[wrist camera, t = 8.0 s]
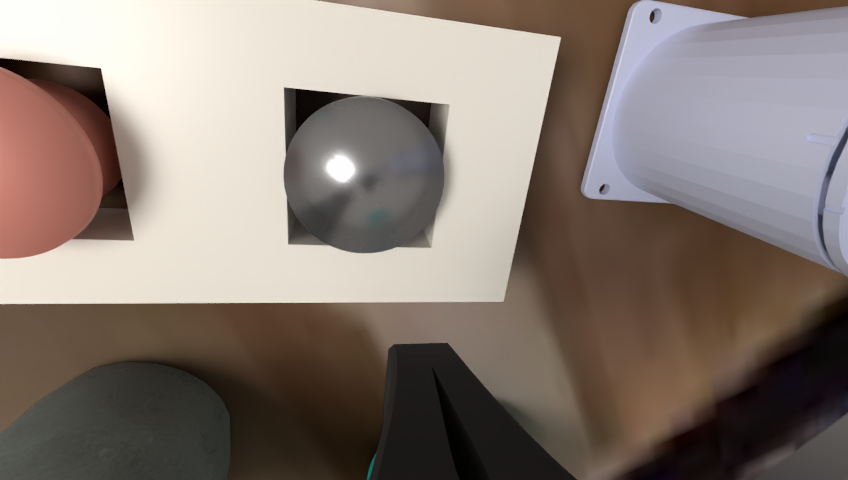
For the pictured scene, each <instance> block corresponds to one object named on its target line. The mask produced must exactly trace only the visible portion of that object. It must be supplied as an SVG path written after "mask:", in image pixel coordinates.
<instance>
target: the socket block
mask: <svg viewBox="0 0 848 480" xmlns="http://www.w3.org/2000/svg"><path fill="white" fill-rule="evenodd" d="M560 39H561V37H556V36H549V35H542V34H536V33H529V32H522V31H516V30H509V29H502V28H496V27H489V26H482V25H476V24H469V23H462V22H456V21H449V20H442V19H436V18H429V17H422V16H416V15H409V14H403V13H396V12H389V11H383V10H376V9H369V8H363V7H356V6H349V5H343V4H336V3H329V2H323V1H316V0H0V58H7V59H17V60H26V61H36V62H45V63H55V64H65V65H74V66H84V67H94V68H101V71H102V76H103V81H104V86H105V92H106V97H107V102H108V107H109V112H110V117H111V123H112V128H113V133H114V138H115V143H116V148H117V154H118V159H119V164H120V169H121V174H122V179H123V185H124V190H125V195H126V200H127V205H128V209H122V208H98V211H97V213H96V215H95V216H94V218H93V220H92V221H91V222H90V224H89V225H88V226H87V227H86V228H85V229H84V230H83V231H82V232H80V233H79V234H78V235H77V236H75V237H74V238H72V239H70V240H69V241H67V242H66V243H64V244H62V245H61V246H59V247H57V248H55V249H53V250H50V251H48V252H46V253H43V254H39V255H35V256H31V257H24V258H12V259H0V304H93V303H321V302H503V301H504V297H505V292H506V288H507V283H508V278H509V274H510V269H511V265H512V260H513V255H514V251H515V246H516V242H517V237H518V232H519V228H520V223H521V219H522V214H523V209H524V205H525V200H526V196H527V191H528V187H529V182H530V177H531V173H532V168H533V164H534V159H535V154H536V150H537V145H538V141H539V136H540V131H541V127H542V122H543V118H544V113H545V108H546V104H547V99H548V95H549V90H550V85H551V81H552V76H553V72H554V67H555V62H556V58H557V53H558V49H559V44H560ZM296 89H305V90H314V91H324V92H334V93H343V94H353V95H362V96H372V97H382V98H391V99H401V100H410V101H420V102H430V103H431V111H430V120H429V131H430V132H431V134H432V135H433V137H434V139H435V141H436V143H437V145H438V147H439V149H440V152H441V155H442V159H443V164H444V176H445V177H444V188H443V193H442V197H441V200H440V203H439V206H438V208H437V210H436V212H435V214H434V215H433V217H432V219H431V220H430V222H429V223H428V224H427V225H426V226H425V228H424V229H423V230H422V231H421V232H419V233H418V234H417V235H416V236H415V237H413V238H412V239H411V240H409V241H408V242H406V243H404V244H402V245H400V246H398V247H395V248H393V249H390V250H386V251H383V252H377V253H353V252H348V251H343V250H340V249H337V248H334V247H332V246H330V245H328V244H325V243H324V242H322V241H321V240H319V239H317V238H316V237H315V236H314V235H312V234H311V233H310V232H309V231H308V230H307V229H306V228H305V227H304V226H303V225H302V224H301V223H300V221H299V220H298V218H297V217H296V216H295V214H294V212H293V210H292V208H291V206H290V204H289V201H288V199H287V196H286V191H285V187H284V178H283V175H284V162H285V157H286V153H287V150H288V147H289V145H290V143H291V141H292V139H293V137H294V135H295V134H296Z"/></svg>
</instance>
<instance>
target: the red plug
mask: <svg viewBox="0 0 848 480" xmlns="http://www.w3.org/2000/svg"><path fill="white" fill-rule="evenodd" d="M121 177H122V174H121V169H120V164H119V159H118V154H117V148H116V143H115V138H114V133H113V128H112V123H111V120H110V119H109V117H108V116H107V115H106V114H105V113H104V112H103V111H102V110H101V109H100V108H99V107H98V106H97V105H96V104H95V103H93V102H92V101H91V100H89V99H88V98H87V97H85V96H83V95H82V94H80V93H79V92H77V91H75V90H73V89H71V88H69V87H66V86H64V85H61V84H58V83H54V82H51V81H46V80H39V79H25V78H23V77H21V76H19V75H17V74H15V73H13V72H11V71H9V70H7V69H4V68H2V67H0V259H12V258H24V257H31V256H35V255H39V254H43V253H46V252H48V251H50V250H53V249H55V248H57V247H59V246H61V245H62V244H64V243H66V242H67V241H69V240H70V239H72V238H74V237H75V236H77V235H78V234H79V233H80V232H82V231H83V230H84V229H85V228H86V227H87V226H88V225H89V224H90V222H91V221H92V220H93V218H94V216H95V215H96V213H97V211H98V208H99V205H100V203H101V198H102V197H103V196H105V195H107V194H108V193H109V192H110V191H112V190H113V189H114V188H115V186H116V185H117V184H118V183H119V181H120V179H121Z"/></svg>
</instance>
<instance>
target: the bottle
mask: <svg viewBox="0 0 848 480" xmlns="http://www.w3.org/2000/svg"><path fill="white" fill-rule="evenodd" d="M230 460H231V450H230V415H229V413H228V410H227V408H226V406H225V404H224V402H223V400H222V398H221V397H220V396H219V395H218V394H217V393H216V392H215V391H214V390H213V389H212V388H211V387H210V386H209V385H208V384H207V383H205V382H204V381H202V380H200V379H198V378H196V377H195V376H193V375H191V374H189V373H187V372H185V371H183V370H181V369H177V368H173V367H169V366H165V365H161V364H157V363H152V362H120V363H115V364H111V365H106V366H101V367H97V368H93V369H91V370H89V371H87V372H86V373H84V374H82V375H80V376H78V377H76V378H74V379H73V380H71V381H69V382H67V383H66V384H64V385H63V386H61V387H60V388H58V389H56V390H55V391H53V392H52V393H50V394H48V395H47V396H45V397H44V398H42V399H41V400H39V401H38V402H37V403H35V404H34V405H33V406H32V407H31V408H30V409H29V410H27V411H26V412H25V413H24V414H23V415H22V416H20V417H19V418H18V419H17V420H16V421H15V422H13V423H12V424H11V425H10V426H9V427H8V428H6V429H5V430H4V431H3V432H2V433H1V434H0V480H227V478H228V472H229V466H230Z"/></svg>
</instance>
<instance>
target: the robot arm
mask: <svg viewBox="0 0 848 480" xmlns="http://www.w3.org/2000/svg"><path fill="white" fill-rule="evenodd" d="M652 11H654V14H655V17H654V20H653V22H652V23H651V22H650V19H649V18H650V14H651V12H652ZM603 184H605V187H604V189H603V190H602V191H601V192H599V189H600V187H601V186H602V185H603ZM581 193H582V194H583V195H584V196H585V197H587V198H590V199H604V200H621V201H639V202H656V203H673V204H676V205H678V206H680V207H683V208H685V209H688V210H690V211H692V212H695V213H697V214H700V215H702V216H704V217H707V218H709V219H712V220H714V221H716V222H719V223H721V224H724V225H726V226H728V227H731V228H733V229H736V230H738V231H740V232H743V233H745V234H748V235H750V236H752V237H755V238H757V239H760V240H762V241H764V242H767V243H769V244H772V245H774V246H776V247H779V248H781V249H784V250H786V251H788V252H791V253H793V254H796V255H798V256H800V257H803V258H805V259H808V260H810V261H812V262H815V263H817V264H820V265H822V266H824V267H827V268H829V269H832V270H834V271H836V272H839V273H841V274H844V275H846V276H847V277H848V6H845V7H837V8H829V9H820V10H812V11H804V12H796V13H788V14H780V15H771V16H763V17H755V18H747V17H741V16H736V15H730V14H725V13H719V12H714V11H708V10H703V9H697V8H692V7H686V6H681V5H675V4H670V3H664V2H658V1H653V0H641V1H638V2H636V3H634V4H633V5H632V6H631V7H630V9H629V11H628V14H627V18H626V21H625V25H624V29H623V32H622V36H621V40H620V44H619V47H618V51H617V55H616V58H615V62H614V66H613V69H612V73H611V77H610V80H609V84H608V88H607V92H606V95H605V99H604V103H603V106H602V110H601V114H600V117H599V121H598V125H597V129H596V132H595V136H594V140H593V143H592V147H591V151H590V154H589V158H588V162H587V165H586V169H585V173H584V177H583V180H582V184H581ZM369 480H577V479H576V478H575V477H573V476H572V475H571V474H570V473H569V472H568V471H567V470H565V469H564V468H563V467H562V466H561V465H560V464H559V463H558V462H557V461H556V460H555V459H553V458H552V457H551V456H550V455H549V454H548V453H547V452H546V451H545V450H544V449H543V448H542V447H541V446H540V445H539V444H538V443H537V442H536V441H535V440H534V439H533V438H532V437H531V436H530V435H529V434H528V433H527V432H526V431H525V430H524V429H523V428H522V427H521V426H520V425H519V424H518V423H517V422H516V421H515V420H514V419H513V417H512V416H511V415H510V414H509V413H508V412H507V411H506V410H505V409H504V408H503V407H502V406H501V404H500V403H499V402H498V401H497V400H496V399H495V398H494V397H493V396H492V395H491V393H490V392H489V391H488V390H487V389H486V388H485V387H484V386H483V384H482V383H481V382H480V381H479V380H478V379H477V377H476V376H475V375H474V374H473V373H472V371H471V370H470V369H469V368H468V367H467V366H466V364H465V363H464V362H463V361H462V360H461V358H460V357H459V356H458V355H457V354H456V352H455V351H454V350H453V349H452V348H451V347H450V345H449V344H448V343H429V344H394V345H393V346H392V347H390V348H389V350H388V361H387V372H386V383H385V394H384V405H383V428H382V432H381V436H380V440H379V444H378V448H377V452H376V456H375V460H374V464H373V468H372V471H371V475H370V478H369Z"/></svg>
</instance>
